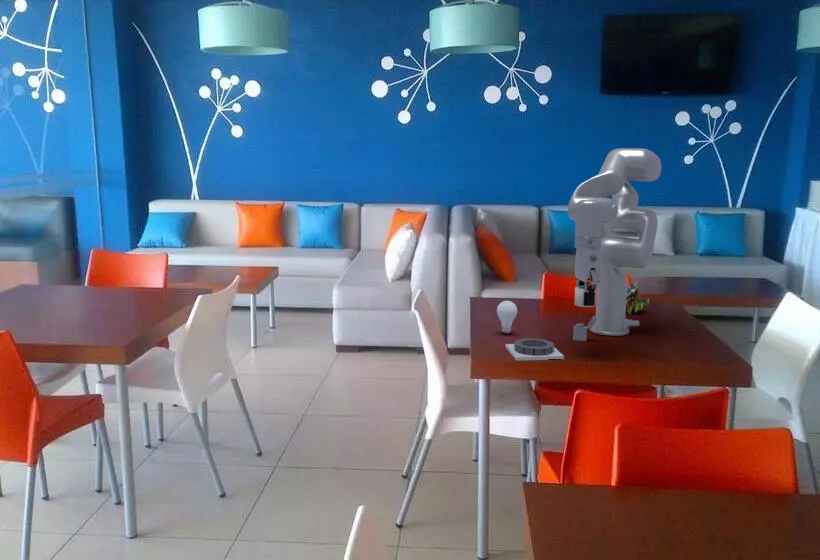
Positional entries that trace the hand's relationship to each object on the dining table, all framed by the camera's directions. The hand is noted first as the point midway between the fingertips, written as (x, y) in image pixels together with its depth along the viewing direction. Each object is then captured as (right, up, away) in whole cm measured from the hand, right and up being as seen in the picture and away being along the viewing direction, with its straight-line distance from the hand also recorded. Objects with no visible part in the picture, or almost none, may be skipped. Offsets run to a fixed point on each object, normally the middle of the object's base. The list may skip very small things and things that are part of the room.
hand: (585, 302), depth 216 cm
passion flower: (+31, -5, +58) cm, 66 cm away
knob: (0, -1, 0) cm, 1 cm away
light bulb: (-20, -11, +25) cm, 34 cm away
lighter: (+4, -13, +17) cm, 22 cm away
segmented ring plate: (-15, -15, +2) cm, 21 cm away
